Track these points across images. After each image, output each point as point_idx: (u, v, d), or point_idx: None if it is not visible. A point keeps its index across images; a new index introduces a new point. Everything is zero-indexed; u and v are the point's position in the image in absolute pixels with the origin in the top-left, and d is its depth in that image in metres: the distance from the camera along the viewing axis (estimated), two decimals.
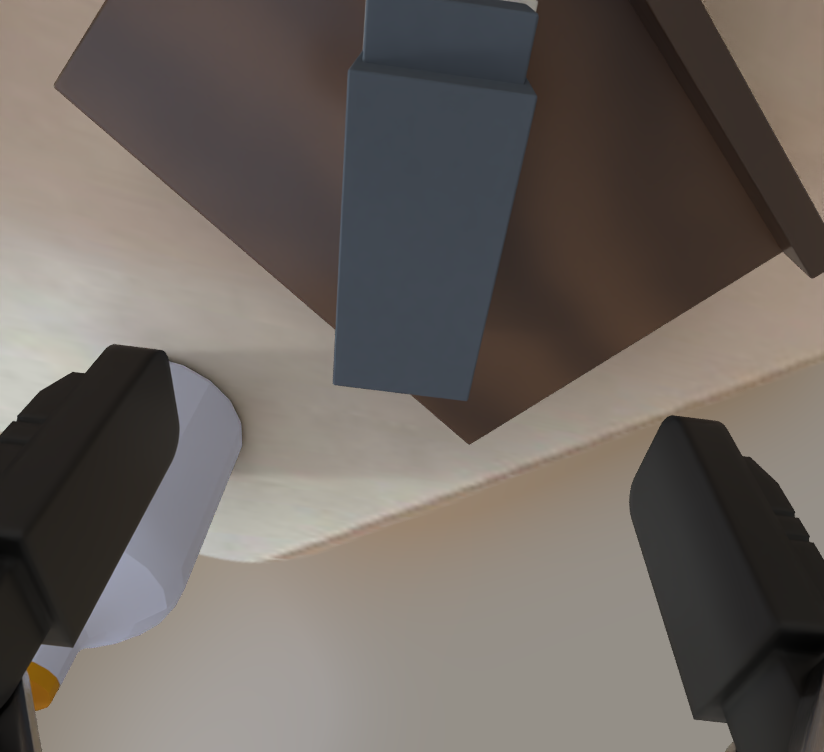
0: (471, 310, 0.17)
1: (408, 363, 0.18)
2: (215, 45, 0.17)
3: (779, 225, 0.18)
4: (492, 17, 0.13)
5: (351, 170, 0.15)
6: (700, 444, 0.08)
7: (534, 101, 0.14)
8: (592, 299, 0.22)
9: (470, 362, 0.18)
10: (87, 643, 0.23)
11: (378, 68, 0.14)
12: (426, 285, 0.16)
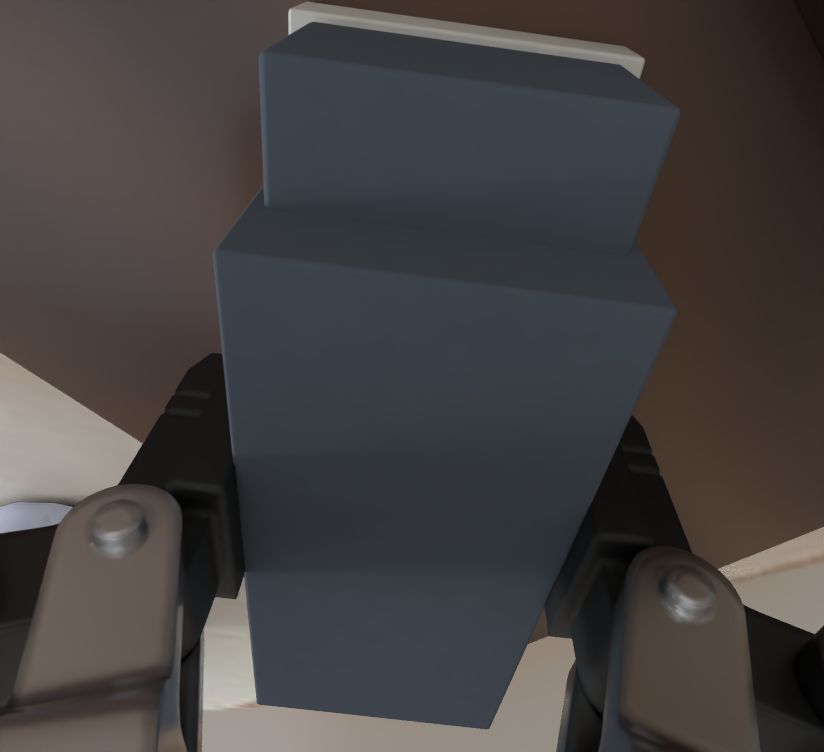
0: (501, 633, 0.09)
1: (386, 687, 0.10)
2: (24, 130, 0.09)
3: None
4: (567, 117, 0.06)
5: (246, 435, 0.07)
6: None
7: (669, 320, 0.06)
8: (685, 505, 0.14)
9: (496, 690, 0.10)
10: None
11: (293, 236, 0.06)
12: (414, 599, 0.09)
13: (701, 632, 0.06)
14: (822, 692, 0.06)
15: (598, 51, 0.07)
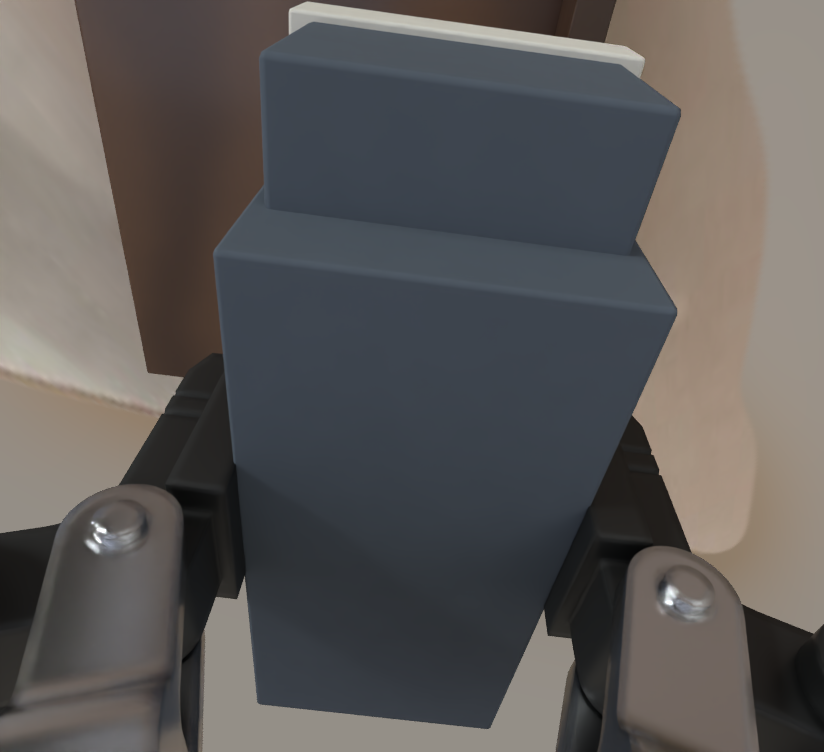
0: (501, 633, 0.09)
1: (386, 687, 0.10)
2: None
3: None
4: (568, 117, 0.06)
5: (247, 435, 0.07)
6: None
7: (669, 320, 0.06)
8: None
9: (496, 690, 0.10)
10: None
11: (294, 236, 0.06)
12: (415, 599, 0.09)
13: (700, 632, 0.06)
14: (821, 692, 0.06)
15: (598, 51, 0.07)
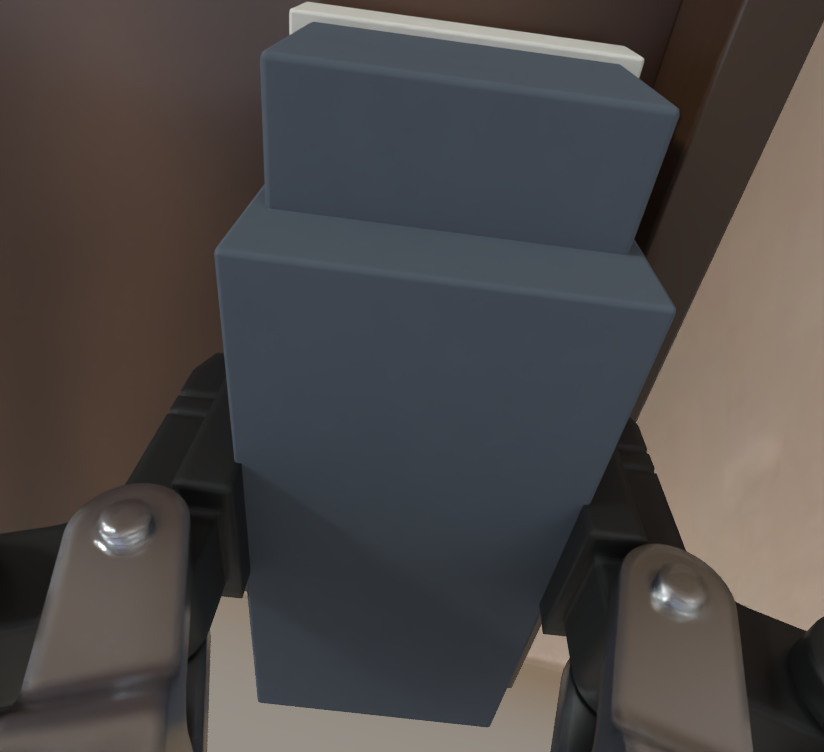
0: (502, 631, 0.09)
1: (386, 686, 0.10)
2: None
3: None
4: (567, 117, 0.06)
5: (248, 433, 0.07)
6: None
7: (668, 319, 0.06)
8: None
9: (496, 688, 0.10)
10: None
11: (295, 234, 0.06)
12: (415, 597, 0.09)
13: (693, 629, 0.06)
14: (814, 690, 0.06)
15: (598, 51, 0.07)
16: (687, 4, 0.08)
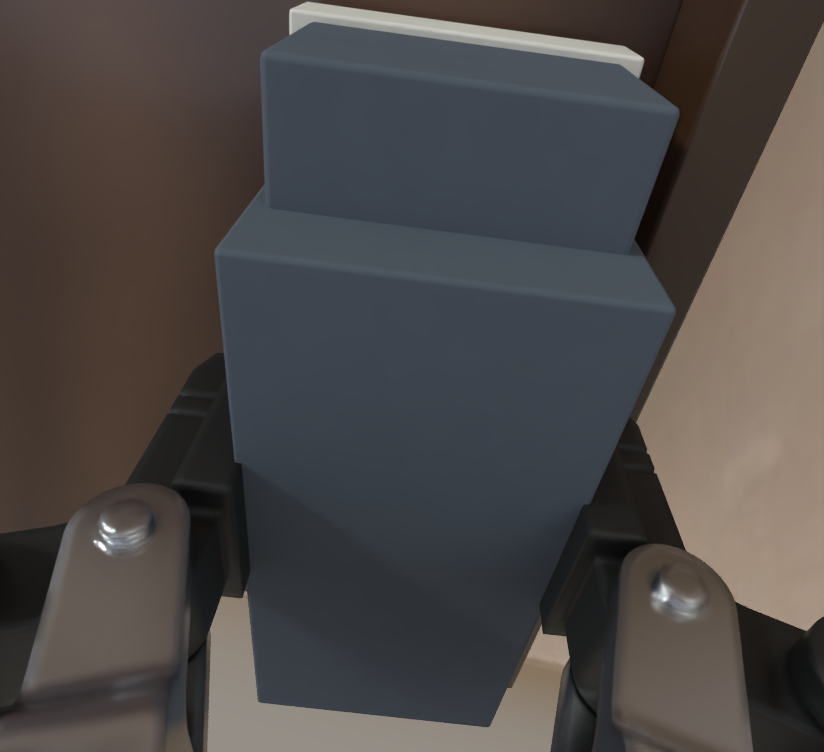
0: (502, 631, 0.09)
1: (387, 686, 0.10)
2: None
3: None
4: (567, 117, 0.06)
5: (248, 433, 0.07)
6: None
7: (668, 319, 0.06)
8: None
9: (496, 688, 0.10)
10: None
11: (295, 235, 0.06)
12: (415, 597, 0.09)
13: (693, 629, 0.06)
14: (814, 690, 0.06)
15: (598, 51, 0.07)
16: (687, 4, 0.08)
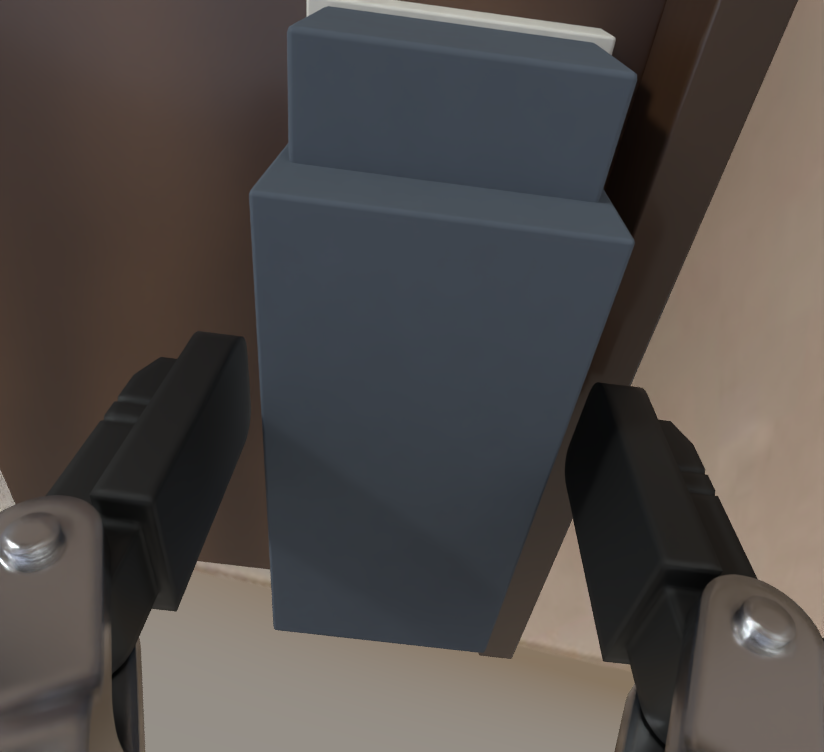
0: (494, 551, 0.10)
1: (391, 610, 0.11)
2: None
3: None
4: (543, 81, 0.07)
5: (273, 359, 0.08)
6: (618, 407, 0.09)
7: (628, 250, 0.07)
8: None
9: (490, 611, 0.11)
10: None
11: (316, 181, 0.07)
12: (416, 519, 0.10)
13: (783, 667, 0.06)
14: None
15: (575, 31, 0.08)
16: None
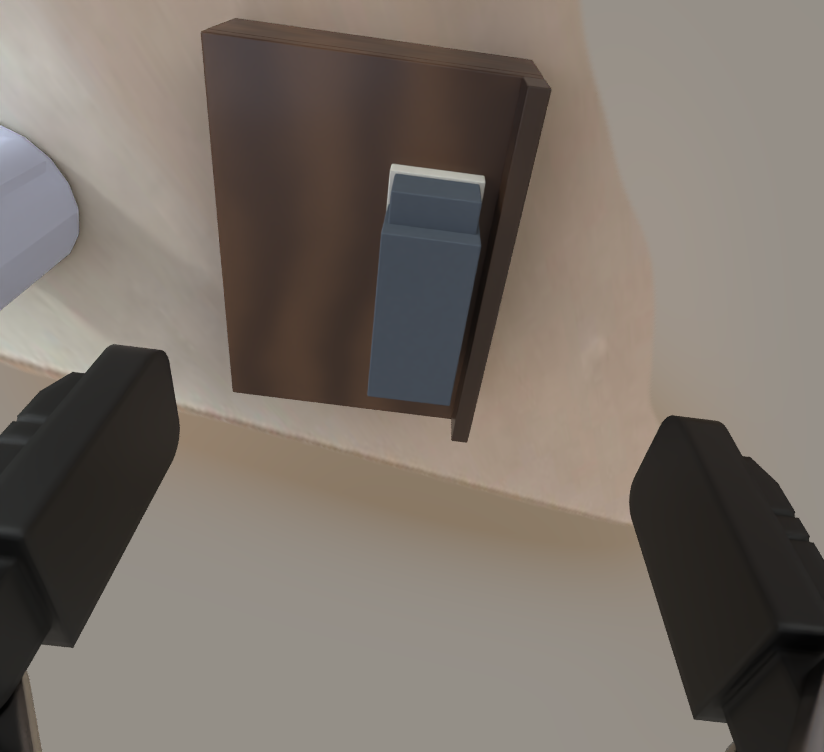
0: (450, 353, 0.29)
1: (413, 383, 0.30)
2: (308, 115, 0.27)
3: (457, 410, 0.34)
4: (457, 204, 0.25)
5: (381, 280, 0.27)
6: (700, 444, 0.08)
7: (479, 248, 0.25)
8: (363, 374, 0.36)
9: (450, 382, 0.30)
10: None
11: (397, 229, 0.26)
12: (423, 339, 0.28)
13: None
14: None
15: (472, 180, 0.27)
16: (504, 169, 0.27)
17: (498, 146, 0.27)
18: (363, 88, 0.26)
